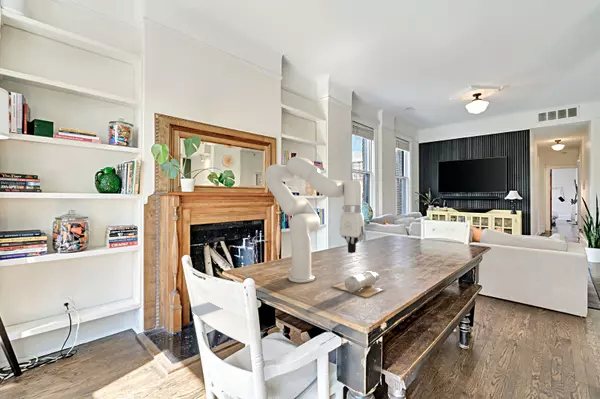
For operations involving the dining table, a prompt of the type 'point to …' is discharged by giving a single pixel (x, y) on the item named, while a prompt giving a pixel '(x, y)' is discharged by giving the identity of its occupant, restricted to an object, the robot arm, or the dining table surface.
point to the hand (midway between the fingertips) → (351, 252)
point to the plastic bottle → (361, 281)
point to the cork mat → (362, 292)
